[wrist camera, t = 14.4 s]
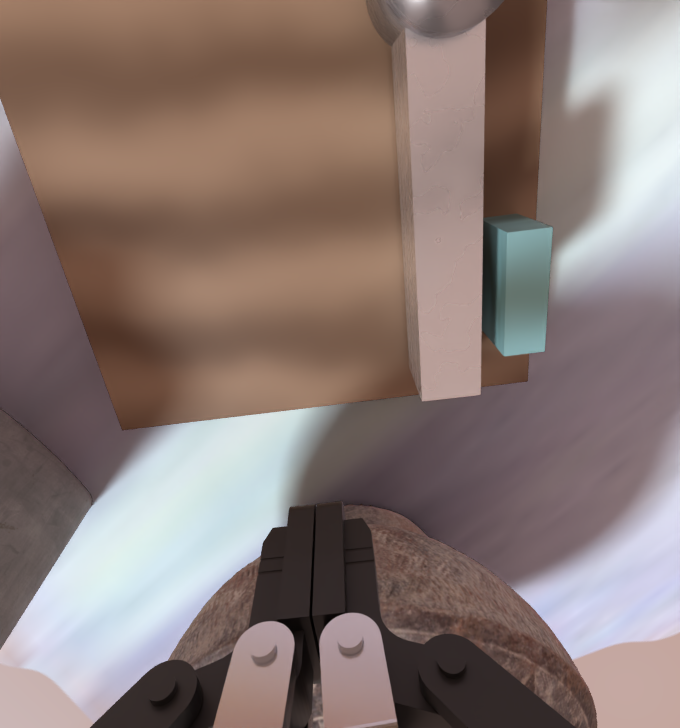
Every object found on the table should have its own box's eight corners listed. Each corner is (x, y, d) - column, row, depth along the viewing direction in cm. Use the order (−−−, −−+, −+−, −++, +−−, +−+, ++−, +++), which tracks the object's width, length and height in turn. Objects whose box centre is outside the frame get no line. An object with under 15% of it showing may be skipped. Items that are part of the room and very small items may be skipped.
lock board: (-9, -28, 23) (-147, -97, 16) (525, -103, 22) (612, -207, 15) (139, 406, 32) (92, 474, 26) (510, 360, 32) (559, 418, 25)
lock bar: (359, -81, 20) (371, -150, 15) (482, -97, 20) (532, -172, 15) (392, 369, 28) (406, 415, 24) (477, 360, 28) (508, 404, 23)
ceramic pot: (256, 385, 32) (119, 888, 11) (567, 490, 37) (916, 990, 15) (164, 625, 42) (-7, 1150, 20) (421, 685, 46) (509, 1163, 25)
